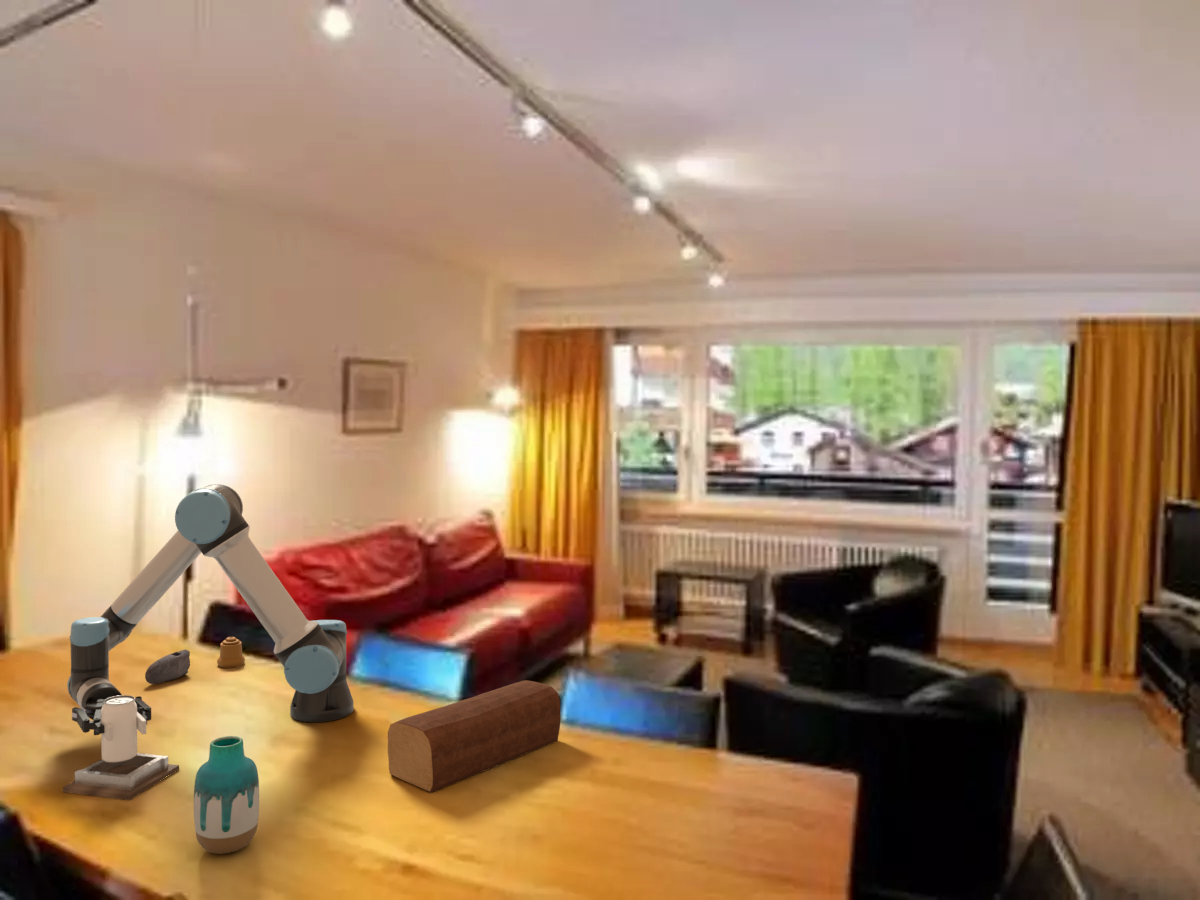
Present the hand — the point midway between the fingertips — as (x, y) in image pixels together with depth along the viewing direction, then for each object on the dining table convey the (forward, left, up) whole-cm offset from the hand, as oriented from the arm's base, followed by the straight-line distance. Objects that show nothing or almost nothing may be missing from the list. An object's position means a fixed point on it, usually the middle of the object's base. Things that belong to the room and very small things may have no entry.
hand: (127, 730), depth 184 cm
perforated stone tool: (+38, -63, -12) cm, 75 cm away
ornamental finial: (+30, -80, -12) cm, 86 cm away
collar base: (+4, -3, -12) cm, 13 cm away
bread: (-62, -33, -12) cm, 71 cm away
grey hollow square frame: (+4, -3, -12) cm, 13 cm away
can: (+4, -3, -7) cm, 9 cm away
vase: (-33, +17, -12) cm, 39 cm away
